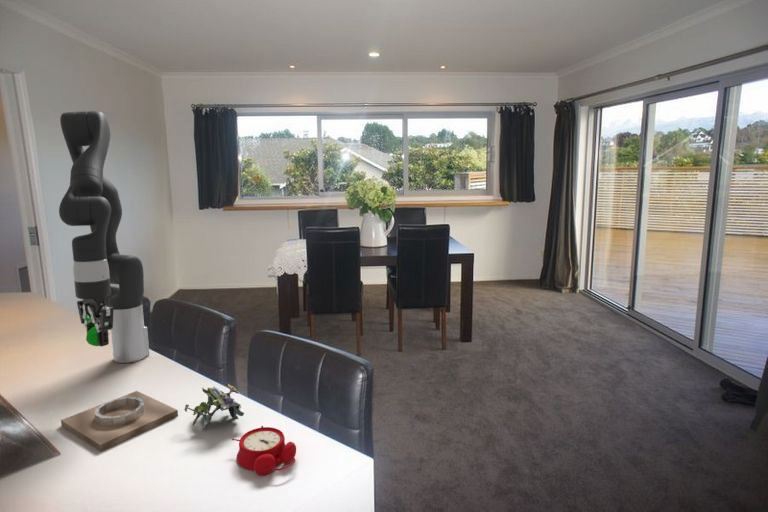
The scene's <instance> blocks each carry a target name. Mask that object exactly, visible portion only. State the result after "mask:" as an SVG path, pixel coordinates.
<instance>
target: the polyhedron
mask: <svg viewBox="0 0 768 512" xmlns="http://www.w3.org/2000/svg"><path fill="white" fill-rule="evenodd" d="M109 334H110V333H109V331H108V336H109ZM85 337H86V339H85V341H86V342H87V344H88V345H90V346H92V347H93V346H94V347H100V346H99V345H98V336H97V329H96V327H93V328H91V329H90V330H89V331H88V332H87V331H86V336H85Z"/></svg>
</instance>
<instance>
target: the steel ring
mask: <svg viewBox="0 0 768 512" xmlns="http://www.w3.org/2000/svg"><path fill="white" fill-rule="evenodd" d="M117 398H118V399H117ZM117 398H114V399H111V400H108V401H107V402H104V403H102V405H101V404H99V405H100V406H99V405H98V406H99V407H98V408H96V409H95V414H94V415H95V423H97V424H99V425H101V426H117V425H122V424H127V423H129V422H131V421H134V420H136V419H138V418H139V417H140V416H141V415H142V414H144V400H142V399H140V398H138V397H124V398H119V397H117ZM124 406H136V407H137V408H136V409H135V410H134V411H131V412H129V413H126V414H123V415H118V416H103V414H104V413H106V412H107V411H110V410H112V409H115V408H119V407H124Z"/></svg>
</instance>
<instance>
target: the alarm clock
mask: <svg viewBox="0 0 768 512" xmlns="http://www.w3.org/2000/svg"><path fill="white" fill-rule="evenodd" d="M285 440H286V438H285V435H284V433H283V432H282V431H281V430H280V429H278V428H275V427H271V426H270V427H269V426H264V425H262V426H261V427H257V428H253V429H251V430H248V431H247V432H245V433H244V434H243V435H242V436H241V437H240V439H236V438H234V437H233V438H231V441H235V442H238V446H239V447H238V448H239V449H238V452H237V454H236V462H237V464H238V465H239V466H240V467H242V468H243V469H244V470H245V469H246V470H249V471H254V472H255V473H256V474H257V475H259V476H267V475H269V474H271V473H272V472H273V471H282V470H284V469H287V468H289V467H290V466H292V465H294V463H295V462H296V458H295V457H296V454H297V446H296V444H295V443H294V442H292V441H288V442H285ZM280 464H284V465H286V464H287V465H286V466H284V467H280V468H275V467H277V466H279V465H280Z"/></svg>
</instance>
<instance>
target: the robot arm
mask: <svg viewBox="0 0 768 512" xmlns="http://www.w3.org/2000/svg"><path fill="white" fill-rule="evenodd" d="M59 121H60V127H61V132H62V135H63V138H64V141H65V144H66V147H67V149H68V152H69V156H70V158H71V161H72V167H71V168H70V177H69V178H70V180H69V186H68V188H67V191H65V194H64V196H63V198H62V199H61V201H60V204H59V208H58V214H59V218H60V220H61V221H62V222H63V223H64V224H65V225H67V226H71V227H80V226H81V227H85V226H89V228H90V231H91V232H90V233H87V234H82V235H78V236H75V237H74V238H73V237H72V240H71V249H72V259H73V260H72V261H73V268H72V271H73V281H74V291H75V298H77V299H79V300H78V301H76V305H77V309H78V314H79V319H80V324H81V325H84V328H86V333H87V332H88V331H89V330H90V329H91V328H93V327H96V329H97V336H98V345H99V346H98V347H105V346H108V345H109V344H110V340H109V335H108V332H109V331H110V334H111V343H112V345H111V347H112V355H113V362H115V363H119V364H128V363H129V364H130V363H134V362H139V361H141V360H143V359H144V358H146V357H148V356H150V347H149V346H150V344H149V334H148V333H149V332H148V327H147V326H145V321H144V320H145V319H144V318H145V317H144V309H143V297H144V294H145V289H144V288H145V284H144V283H145V281H144V276H145V275H144V266H143V264H142V263H143V262H142V261H141V259H140V258H139V257H138V256H135V255H131V254H129V255H127V254H120V251H119V247H118V243H117V232H118V229H119V226H120V223H121V220H122V216H123V209H122V208H123V207H122V204H121V199H120V195H119V191H118V189H117V187H116V186H115V185H114V184H113V182H111V180H109V179H108V178H107V177H106V176H105V175H104V166H105V162H106V158H107V154H108V150H109V147H110V141H111V127H110V125H109V122H108V119H107V117H106V115H105V114H104V113H103V112H102V111H100V110H99V111H97V110H87V111H86V110H84V111H67V112H63V113H62V114H60V120H59ZM84 147H87V148H86V149H85V150H84ZM111 284H112V285H118V294H114V295H112V296H111V294H112V288H111ZM109 296H111V297H109ZM106 297H109V298H108V305H107V301H106Z"/></svg>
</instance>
